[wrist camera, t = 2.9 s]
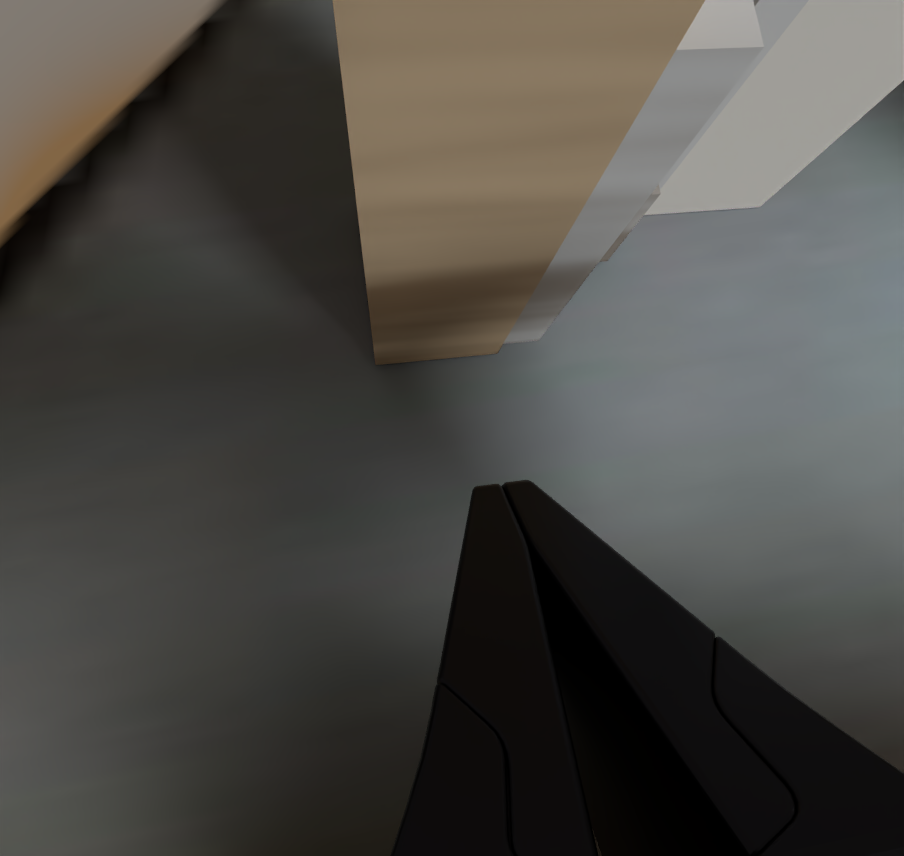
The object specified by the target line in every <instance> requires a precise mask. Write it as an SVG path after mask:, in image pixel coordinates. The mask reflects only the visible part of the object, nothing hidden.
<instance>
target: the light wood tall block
mask: <svg viewBox="0 0 904 856" xmlns="http://www.w3.org/2000/svg"><path fill="white" fill-rule="evenodd" d="M333 8H334V16H335V25H336V33H337V42H338V50H339V59H340V67H341V76H342V84H343V93H344V101H345V110H346V118H347V127H348V135H349V144H350V152H351V161H352V169H353V178H354V187H355V195H356V204H357V212H358V221H359V229H360V238H361V246H362V255H363V263H364V272H365V280H366V289H367V297H368V306H369V314H370V323H371V331H372V340H373V348H374V357H375V365H382V364H392V363H403V362H413V361H424V360H434V359H445V358H455V357H466V356H477V355H487V354H497V353H498V352H499V350H500V348H501V346H502V345H503V344H507V343H518V342H528V341H539V339H540V338H541V337H542V335H543V334H544V333H545V332H546V330H547V329H548V328H549V326H550V325H551V324H552V322H553V321H554V320H555V319H556V317H557V316H558V315H559V313H560V312H561V311H562V309H563V308H564V307H565V306H566V304H567V303H568V302H569V300H570V299H571V298H572V296H573V295H574V294H575V293H576V291H577V290H578V289H579V287H580V286H581V285H582V283H583V282H584V281H585V279H586V278H587V277H588V276H589V274H590V273H591V272H592V270H593V269H594V268H595V266H596V265H597V264H598V263H599V262H602V261H608V259H609V258H610V257H611V256H612V254H613V253H614V252H615V251H616V249H617V248H618V247H619V246H620V244H621V243H622V242H623V241H624V239H625V238H626V237H627V236H628V234H629V233H630V232H631V231H632V229H633V228H634V227H635V226H636V224H637V223H638V222H639V220H640V219H641V218H642V217H643V215H644V214H645V213H646V212H647V210H648V209H649V208H650V207H651V205H652V204H653V203H654V202H655V200H656V199H657V198H658V197H659V195H660V194H661V193H660V188H659V183H660V182H661V181H662V179H663V178H664V177H665V175H666V174H667V173H668V171H669V170H670V169H671V167H672V166H673V165H674V164H675V162H676V161H677V160H678V158H679V157H680V156H681V154H682V153H683V152H684V151H685V149H686V148H687V147H688V145H689V144H690V143H691V141H692V140H693V139H694V138H695V136H696V135H697V134H698V132H699V131H700V130H701V128H702V127H703V126H704V125H705V123H706V122H707V121H708V119H709V118H710V117H711V115H712V114H713V113H714V111H715V110H716V109H717V108H718V106H719V105H720V104H721V102H722V101H723V100H724V98H725V97H726V96H727V95H728V93H729V92H730V91H731V89H732V88H733V87H734V85H735V84H736V83H737V82H738V80H739V79H740V78H741V76H742V75H743V74H744V72H745V71H746V70H747V69H748V67H749V66H750V65H751V63H752V62H753V61H754V59H755V58H756V57H757V55H758V54H759V53H760V52H761V50H762V49H763V48H764V44H763V40H762V36H761V32H760V27H759V23H758V19H757V15H756V10H755V6H754V2H753V0H333Z"/></svg>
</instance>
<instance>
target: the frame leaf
mask: <svg viewBox="0 0 904 856" xmlns="http://www.w3.org/2000/svg"><path fill="white" fill-rule="evenodd" d="M753 2H754V6H755V10H756V15H757V19H758V23H759V27H760V32H761V36H762V40H763V44H764V48H763V49H762V50H761V52H760V53H759V54H758V55H757V57H756V58H755V59H754V61H753V62H752V63H751V65H750V66H749V67H748V69H747V70H746V71H745V72H744V74H743V75H742V76H741V78H740V79H739V80H738V82H737V83H736V84H735V85H734V87H733V88H732V89H731V91H730V92H729V93H728V95H727V96H726V97H725V98H724V100H723V101H722V102H721V104H720V105H719V106H718V108H717V109H716V110H715V111H714V113H713V114H712V115H711V117H710V118H709V119H708V121H707V122H706V123H705V125H704V126H703V127H702V128H701V130H700V131H699V132H698V134H697V135H696V136H695V138H694V139H693V140H692V141H691V143H690V144H689V145H688V147H687V148H686V149H685V151H684V152H683V153H682V154H681V156H680V157H679V158H678V160H677V161H676V162H675V164H674V165H673V166H672V167H671V169H670V170H669V171H668V173H667V174H666V175H665V177H664V178H663V179H662V181H661V182H660V183H659V188H660V193H661V194H660V195H659V197H658V198H657V199H656V200H655V202H654V203H653V204H652V205H651V207H650V208H649V209H648V210H647V212H646V213H645V214H644V215H653V214H667V213H682V212H696V211H711V210H725V209H740V208H754V207H760V206H761V205H763V204H764V203H765V202H766V201H767V200H768V199H769V198H770V197H772V196H773V195H774V194H775V193H776V192H777V191H778V190H780V189H781V188H782V187H783V186H784V185H785V184H786V183H788V182H789V181H790V180H791V179H792V178H793V177H794V176H795V175H797V174H798V173H799V172H800V171H801V170H802V169H803V168H805V167H806V166H807V165H808V164H809V163H810V162H811V161H813V160H814V159H815V158H816V157H817V156H818V155H819V154H820V153H822V152H823V151H824V150H825V149H826V148H827V147H828V146H830V145H831V144H832V143H833V142H834V141H835V140H836V139H838V138H839V137H840V136H841V135H842V134H843V133H844V132H845V131H847V130H848V129H849V128H850V127H851V126H852V125H853V124H855V123H856V122H857V121H858V120H859V119H860V118H861V117H863V116H864V115H865V114H866V113H867V112H868V111H869V110H871V109H872V108H873V107H874V106H875V105H876V104H877V103H878V102H880V101H881V100H882V99H883V98H884V97H885V96H886V95H888V94H889V93H890V92H891V91H892V90H893V89H894V88H896V87H897V86H898V85H899V84H900V83H901V82H902V81H903V80H904V0H753Z"/></svg>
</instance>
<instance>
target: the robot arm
mask: <svg viewBox="0 0 904 856" xmlns="http://www.w3.org/2000/svg"><path fill="white" fill-rule="evenodd" d="M592 828H593V830H592ZM593 831H594V834H595V837H596V840H597V842H598V845H599V848H600V851H601V854H602V856H904V773H903V772H901V771H900V770H898V769H897V768H895V767H894V766H892V765H891V764H890V763H888V762H887V761H885V760H884V759H882V758H881V757H880V756H878V755H877V754H875V753H874V752H872V751H871V750H870V749H868V748H867V747H865V746H864V745H862V744H861V743H860V742H858V741H857V740H855V739H854V738H852V737H851V736H850V735H848V734H847V733H845V732H844V731H842V730H841V729H839V728H838V727H837V726H835V725H834V724H832V723H831V722H830V721H828V720H827V719H826V718H824V717H823V716H821V715H820V714H819V713H817V712H816V711H815V710H813V709H812V708H810V707H809V706H808V705H806V704H805V703H803V702H802V701H801V700H799V699H798V698H797V697H795V696H794V695H792V694H791V693H790V692H788V691H787V690H786V689H784V688H783V687H782V686H781V685H779V684H778V683H777V682H776V681H774V680H773V679H772V678H770V677H769V676H768V675H767V674H765V673H764V672H763V671H762V670H760V669H759V668H758V667H757V666H755V665H754V664H753V663H751V662H750V661H749V660H748V659H746V658H745V657H744V656H743V655H741V654H740V653H739V652H738V651H737V650H735V649H734V648H733V647H732V646H731V645H729V644H728V643H727V642H726V641H725V640H723V639H722V638H721V637H716V638H715V633H714V632H713V631H712V630H711V629H710V628H708V627H707V626H706V625H705V624H704V623H702V622H701V621H700V620H699V619H698V618H696V617H695V616H694V615H693V614H691V613H690V612H689V611H688V610H687V609H685V608H684V607H683V606H682V605H681V604H679V603H678V602H677V601H676V600H675V599H673V598H672V597H671V596H670V595H668V594H667V593H666V592H665V591H664V590H662V589H661V588H660V587H659V586H658V585H656V584H655V583H654V582H653V581H652V580H650V579H649V578H648V577H647V576H645V575H644V574H643V573H642V572H641V571H639V570H638V569H637V568H636V567H635V566H633V565H632V564H631V563H630V562H629V561H627V560H626V559H625V558H624V557H622V556H621V555H620V554H619V553H618V552H616V551H615V550H614V549H613V548H612V547H610V546H609V545H608V544H607V543H606V542H604V541H603V540H602V539H601V538H599V537H598V536H597V535H596V534H595V533H593V532H592V531H591V530H590V529H589V528H587V527H586V526H585V525H584V524H583V523H581V522H580V521H579V520H578V519H576V518H575V517H574V516H573V515H572V514H570V513H569V512H568V511H567V510H566V509H564V508H563V507H562V506H561V505H560V504H558V503H557V502H556V501H555V500H553V499H552V498H551V497H550V496H549V495H547V494H546V493H545V492H544V491H543V490H541V489H540V488H539V487H538V486H537V485H535V484H534V483H533V482H531V481H529V480H521V481H514V482H506V483H504V484H503V485H502V486H501V485H499V484H491V485H483V486H476V487H475V488H474V489H473V491H472V496H471V501H470V506H469V512H468V517H467V522H466V528H465V533H464V538H463V544H462V549H461V554H460V560H459V565H458V570H457V576H456V581H455V586H454V592H453V597H452V603H451V608H450V613H449V619H448V624H447V629H446V635H445V640H444V645H443V651H442V656H441V661H440V667H439V672H438V677H437V685H436V687H435V691H434V697H433V702H432V708H431V713H430V718H429V722H428V727H427V731H426V736H425V740H424V745H423V749H422V753H421V758H420V762H419V765H418V768H417V772H416V775H415V779H414V782H413V785H412V789H411V792H410V796H409V799H408V802H407V806H406V809H405V812H404V816H403V819H402V822H401V825H400V828H399V831H398V834H397V837H396V840H395V843H394V846H393V849H392V852H391V855H390V856H598V852H597V848H596V843H595V839H594V835H593Z"/></svg>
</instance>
